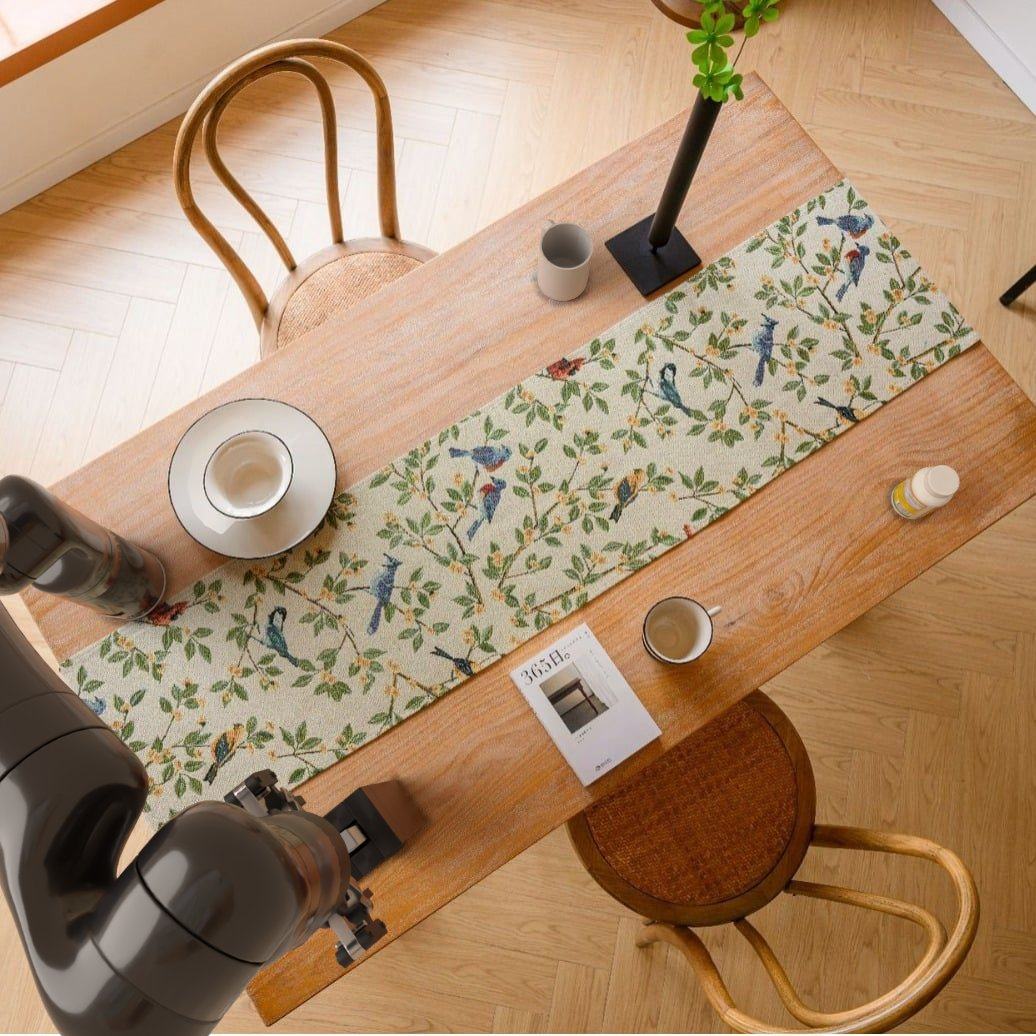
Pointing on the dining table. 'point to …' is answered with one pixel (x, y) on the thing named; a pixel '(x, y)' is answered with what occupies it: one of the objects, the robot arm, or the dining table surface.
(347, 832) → the grey square peg
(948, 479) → the supplement bottle
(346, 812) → the holder
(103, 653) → the dining table surface
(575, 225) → the cup
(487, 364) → the dining table surface
